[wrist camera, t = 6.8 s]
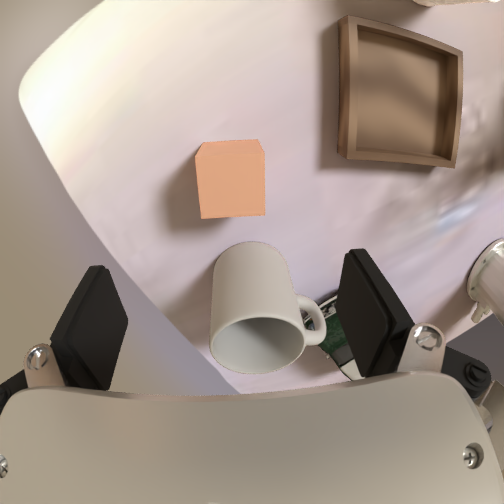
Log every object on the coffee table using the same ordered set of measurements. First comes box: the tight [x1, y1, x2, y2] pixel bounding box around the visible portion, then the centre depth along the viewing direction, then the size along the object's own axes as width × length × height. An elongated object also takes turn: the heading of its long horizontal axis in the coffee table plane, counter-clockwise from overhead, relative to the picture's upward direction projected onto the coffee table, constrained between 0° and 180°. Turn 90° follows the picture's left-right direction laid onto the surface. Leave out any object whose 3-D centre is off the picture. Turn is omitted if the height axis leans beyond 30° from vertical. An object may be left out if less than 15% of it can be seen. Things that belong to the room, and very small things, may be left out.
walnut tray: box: [337, 15, 463, 169], centre depth 21 cm, size 14×14×3 cm
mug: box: [209, 242, 326, 374], centre depth 28 cm, size 12×8×11 cm
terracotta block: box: [195, 139, 265, 219], centre depth 23 cm, size 5×5×6 cm
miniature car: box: [303, 295, 365, 381], centre depth 36 cm, size 9×18×8 cm, turn 38°
